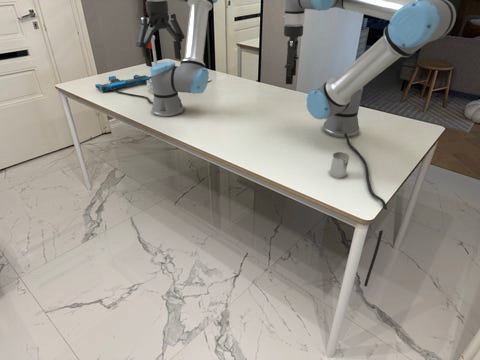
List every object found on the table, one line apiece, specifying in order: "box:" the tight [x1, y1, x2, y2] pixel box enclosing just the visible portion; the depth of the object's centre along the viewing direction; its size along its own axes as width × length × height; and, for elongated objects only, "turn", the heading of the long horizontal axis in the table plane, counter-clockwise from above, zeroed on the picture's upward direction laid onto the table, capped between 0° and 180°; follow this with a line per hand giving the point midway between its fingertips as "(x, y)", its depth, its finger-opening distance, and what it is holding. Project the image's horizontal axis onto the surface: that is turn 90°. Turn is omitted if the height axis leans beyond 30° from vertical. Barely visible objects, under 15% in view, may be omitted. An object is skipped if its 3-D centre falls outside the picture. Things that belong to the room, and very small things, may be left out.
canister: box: [329, 151, 350, 179], centre depth 118 cm, size 5×5×7 cm
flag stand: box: [146, 34, 158, 94], centre depth 188 cm, size 13×13×30 cm
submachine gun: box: [94, 74, 151, 92], centre depth 206 cm, size 34×4×25 cm
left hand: (164, 62), depth 130 cm, fingers open, 13 cm apart
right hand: (290, 79), depth 144 cm, fingers open, 13 cm apart
